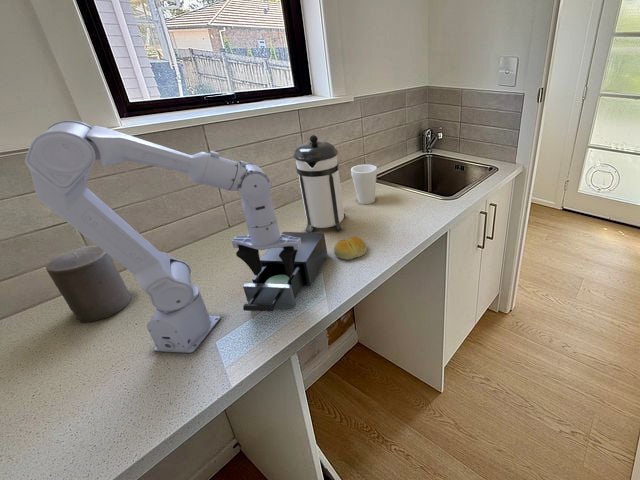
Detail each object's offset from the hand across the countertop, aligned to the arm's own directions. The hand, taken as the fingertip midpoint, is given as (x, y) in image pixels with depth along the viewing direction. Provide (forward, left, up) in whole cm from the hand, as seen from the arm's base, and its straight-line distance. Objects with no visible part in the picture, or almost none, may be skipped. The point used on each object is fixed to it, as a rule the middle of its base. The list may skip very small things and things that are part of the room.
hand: (274, 273), depth 76 cm
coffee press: (+37, +1, -7) cm, 38 cm away
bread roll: (+20, -12, -7) cm, 24 cm away
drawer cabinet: (+11, 0, -7) cm, 13 cm away
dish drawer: (0, 0, -6) cm, 6 cm away
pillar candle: (-5, +39, -7) cm, 40 cm away
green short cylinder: (0, 0, -5) cm, 5 cm away
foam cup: (+55, -9, -7) cm, 56 cm away
